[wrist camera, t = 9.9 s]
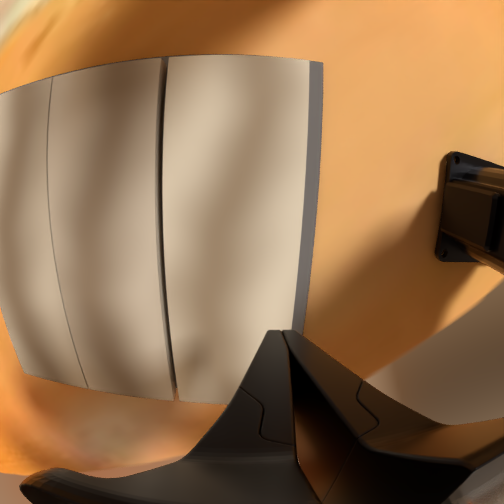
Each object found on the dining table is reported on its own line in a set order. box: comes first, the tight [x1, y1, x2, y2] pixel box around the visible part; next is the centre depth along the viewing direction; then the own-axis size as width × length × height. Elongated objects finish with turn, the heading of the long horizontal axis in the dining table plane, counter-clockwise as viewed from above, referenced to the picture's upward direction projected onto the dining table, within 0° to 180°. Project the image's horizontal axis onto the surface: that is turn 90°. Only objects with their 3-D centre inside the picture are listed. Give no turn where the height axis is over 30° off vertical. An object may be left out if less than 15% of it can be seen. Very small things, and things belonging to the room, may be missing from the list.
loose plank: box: [163, 55, 310, 405], centre depth 14 cm, size 6×18×1 cm, turn 178°
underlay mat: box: [0, 54, 323, 388], centre depth 14 cm, size 19×18×1 cm
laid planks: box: [0, 58, 176, 401], centre depth 13 cm, size 12×18×1 cm, turn 178°
